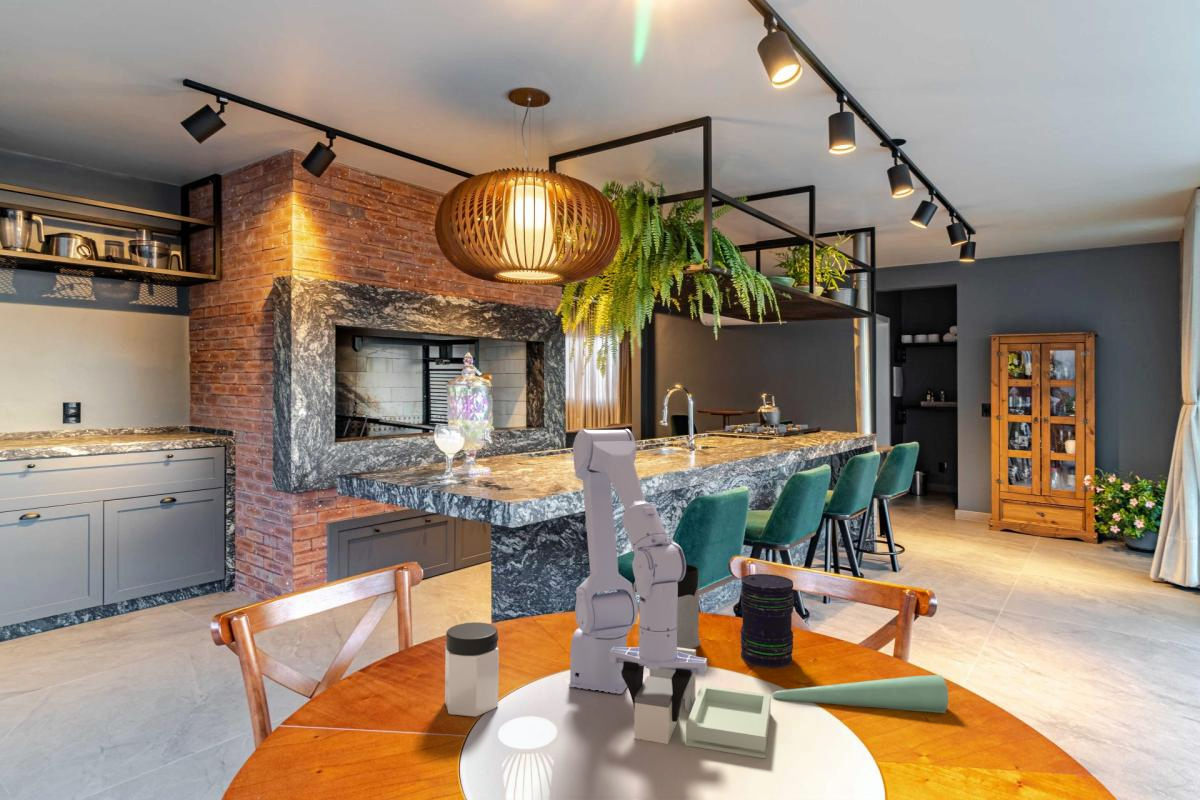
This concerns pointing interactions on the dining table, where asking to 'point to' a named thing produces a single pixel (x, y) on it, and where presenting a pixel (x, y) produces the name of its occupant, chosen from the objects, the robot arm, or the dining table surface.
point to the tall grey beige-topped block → (654, 710)
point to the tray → (729, 721)
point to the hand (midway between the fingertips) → (657, 715)
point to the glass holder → (687, 609)
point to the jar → (471, 669)
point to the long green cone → (879, 693)
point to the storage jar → (767, 620)
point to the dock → (665, 673)
